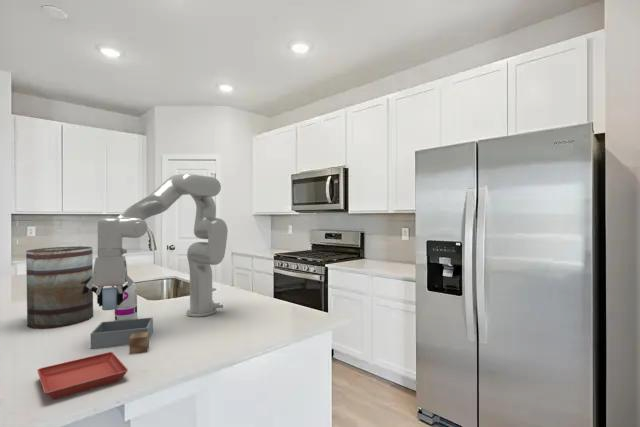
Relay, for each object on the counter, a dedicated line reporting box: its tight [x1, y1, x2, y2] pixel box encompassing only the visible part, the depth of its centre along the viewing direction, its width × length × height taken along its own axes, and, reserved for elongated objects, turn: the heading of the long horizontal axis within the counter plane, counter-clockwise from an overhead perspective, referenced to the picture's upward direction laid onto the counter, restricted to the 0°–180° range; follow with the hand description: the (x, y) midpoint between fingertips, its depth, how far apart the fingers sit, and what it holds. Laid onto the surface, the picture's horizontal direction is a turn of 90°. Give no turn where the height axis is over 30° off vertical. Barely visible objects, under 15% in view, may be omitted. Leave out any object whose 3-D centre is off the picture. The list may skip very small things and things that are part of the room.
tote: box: [90, 317, 154, 350], centre depth 127 cm, size 17×13×5 cm
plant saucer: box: [36, 351, 129, 400], centre depth 96 cm, size 18×18×3 cm
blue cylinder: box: [101, 286, 119, 311], centre depth 126 cm, size 5×5×7 cm
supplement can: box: [114, 282, 138, 321], centre depth 150 cm, size 8×8×15 cm
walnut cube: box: [128, 332, 150, 355], centre depth 117 cm, size 5×5×5 cm
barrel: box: [25, 245, 94, 330], centre depth 150 cm, size 22×22×30 cm
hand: (110, 304), depth 126 cm, fingers closed on blue cylinder, 5 cm apart
